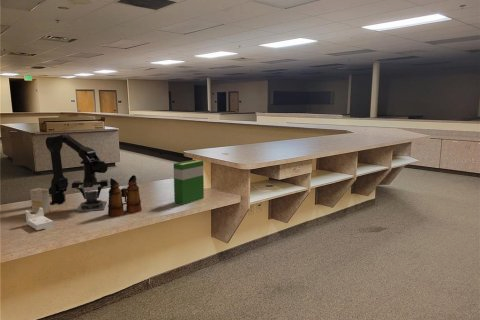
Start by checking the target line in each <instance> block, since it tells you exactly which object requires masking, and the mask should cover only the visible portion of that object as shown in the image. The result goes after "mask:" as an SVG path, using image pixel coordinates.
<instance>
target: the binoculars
mask: <svg viewBox="0 0 480 320" xmlns="http://www.w3.org/2000/svg"><path fill="white" fill-rule="evenodd" d="M109 185H110V189H108V202H107V207H108V209H107V210H108V211H107V216H108V217H110V218H119V217H122V216H124V215H125V212H126V213H128V214H136V213H137V214H138V213H140V212H142V200H141V197H140V196H141V195H140V190H139V189H140V187H139V185H138V184H137V177H136V175H135V174H132V175H131V176H130V177H129V179H128V183H127V185H128V186H127V187H123V188H120V183H119V182H117V181H116V179H114V178H110V181H109ZM123 198H124V202H125V203H124V202H123ZM124 205H126V209H125V210H124Z"/></svg>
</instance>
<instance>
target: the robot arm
mask: <svg viewBox="0 0 480 320" xmlns="http://www.w3.org/2000/svg"><path fill="white" fill-rule="evenodd" d="M63 143H64V144H65V145H67V146H68V147H69V148H71V149H72V150H73V151H75V152H77V154H78V156H79V158H80V159H81V161H80V162H79V163H80V164H81V165H83V175H84V176H83V180H82V181H81V180H74V181H73V182H72V183H71V189H76V190H79V192H80V193H81V195H82V197H83V199H84V200H86V199H85V195H84V193H85V192H86V191H85V189H87V188H93V187H94V186H98V187H97V191H98V198H97V199H99V197H100V194H101V191H102V189H103V188H104V187H109V185H110V181H109V179H100V181H98V179H97V177H96V173H97V174H98V173H99V174H105V173H106V172H107V171H108V169H109V168H108V165H107V163H106V161H105V160H101V159H100V157H99V156H98V154H97V153H96V150H95V149H93V148H91V147H89V146H84V145H83V144H82V143H80V142H79V141H77V140H76V139H74V138H73V137H72V136H70V134H68V133H65V134H64V133H63V134H60V135H54V136H48V137H46V139H45V145H46V148H47V150H48V151H49V152H50V158H51V167H52V176H53V177H52V179H51V181H50V187H49V188H47V189H48V190H49V195H50V196H51V203H50V205H59V204H64V203H65V202H66V194H65V192H67V189H68V186H69V182H68V181H69V179H68V177H65V176H64V172H63V164H62V155H61V154H62V153H61V150H62V148H63Z"/></svg>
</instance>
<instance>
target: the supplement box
mask: <svg viewBox="0 0 480 320" xmlns="http://www.w3.org/2000/svg"><path fill="white" fill-rule="evenodd" d="M48 189H49V188H39V187H36V188H33V189H30V190H29V192H30V200H31V201H30V202H31V209H32V210H31V211H32V214H36V213H37V212H38V211H39V208H43V212H44V215H47V214H50V213H51V212H52V211H51V203H50V202H51V201H50V194H49V190H48Z"/></svg>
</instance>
